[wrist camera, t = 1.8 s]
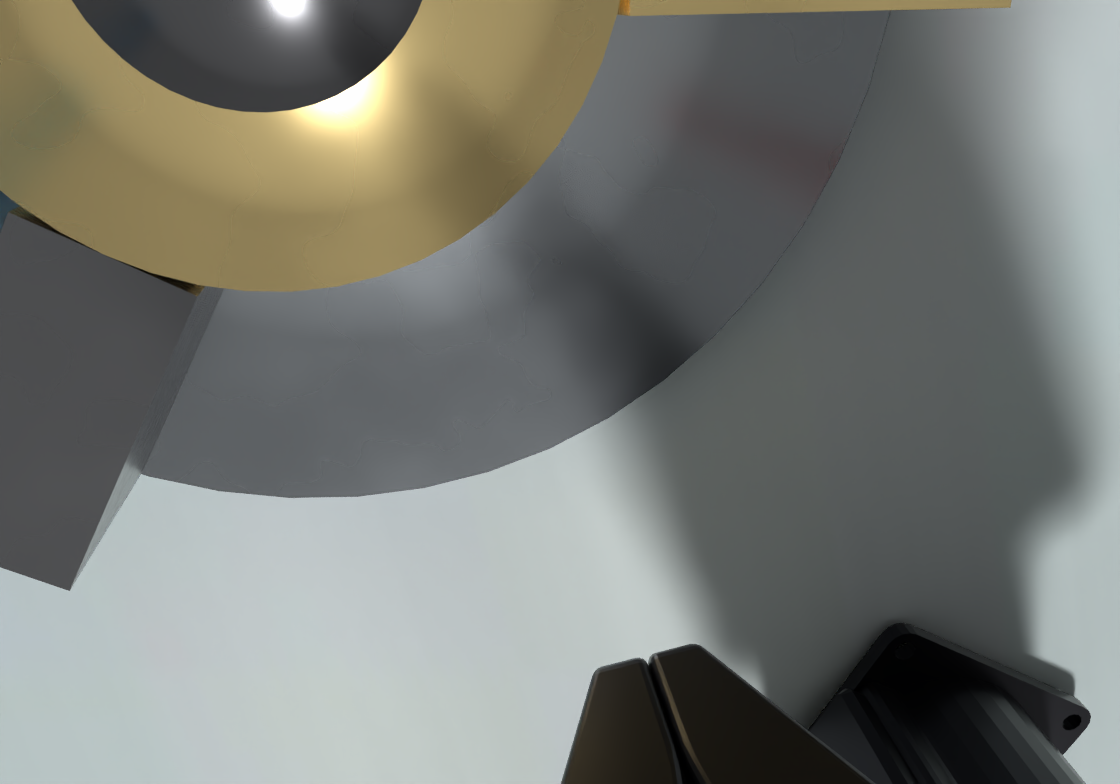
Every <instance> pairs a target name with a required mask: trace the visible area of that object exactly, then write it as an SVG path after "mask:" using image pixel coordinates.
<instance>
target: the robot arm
mask: <svg viewBox="0 0 1120 784" xmlns="http://www.w3.org/2000/svg"><path fill="white" fill-rule="evenodd" d="M904 642H907V643H906V644H905V645H904V646H903V647H902V648H898V649H896V648H897V647H898V646H899V645H900V644H901V643H904ZM648 665H649V666H648ZM1090 718H1091V716H1090V713H1089V711H1088V710H1087V709H1086V707H1085V706H1084V705H1083V704H1082V703H1081V702H1080V701H1079V700H1078V699H1077V698H1075V697H1074V696H1071V695H1069V694H1067V693H1064V692H1062V691H1060V690H1058V689H1055V688H1053V687H1051V686H1049V685H1046V684H1044V683H1042V682H1040V681H1037V680H1035V679H1033V678H1030V677H1028V676H1026V675H1024V674H1021V673H1019V672H1017V671H1015V670H1012V669H1010V668H1008V667H1005V666H1003V665H1001V664H999V663H996V662H994V661H992V660H990V659H987V658H985V657H983V656H980V655H978V654H976V653H974V652H971V651H969V650H967V649H965V648H962V647H960V646H958V645H955V644H953V643H951V642H949V641H946V640H944V639H942V638H940V637H937V636H935V635H933V634H931V633H928V632H926V631H924V630H921V629H919V628H917V627H915V626H912V625H910V624H905V623H899V624H894V625H892V626H890V627H888V628H887V629H886V630H885V631H884V632H883V633H882V634H881V635H880V636H879V638H878V639H877V640H876V641H875V643H874V644H873V645H872V647H871V648H870V649H869V651H868V652H867V653H866V655H865V656H864V657H863V659H862V660H861V661H860V663H859V664H858V665H857V666H856V668H855V669H854V670H853V672H852V673H851V674H850V676H849V677H848V678H847V680H846V681H845V682H844V684H843V685H842V686H841V687H840V689H839V690H838V691H837V693H836V694H835V695H834V697H833V698H832V699H831V701H830V702H829V703H828V705H827V706H826V707H825V709H824V710H823V711H822V712H821V714H820V715H819V716H818V718H817V719H816V720H815V722H814V723H813V724H812V726H811V727H810V728H809V730H807V729H806V728H804V727H803V726H802V725H801V724H799V723H798V722H797V721H795V720H794V719H793V718H792V717H790V716H789V715H788V714H787V713H785V712H784V711H783V710H782V709H780V708H779V707H778V706H776V705H775V704H774V703H773V702H771V701H770V700H769V699H768V698H766V697H765V696H764V695H763V694H761V693H760V692H759V691H758V690H756V689H755V688H754V687H752V686H751V685H750V684H749V683H747V682H746V681H745V680H744V679H742V678H741V677H740V676H739V675H737V674H736V673H735V672H733V671H732V670H731V669H730V668H728V667H727V666H726V665H725V664H723V663H722V662H721V661H720V660H718V659H717V658H716V657H715V656H713V655H712V654H711V653H709V652H708V651H707V650H706V649H704V648H703V647H702V646H700V645H697V644H689V645H685V646H681V647H677V648H673V649H669V650H665V651H662V652H658V653H655V654H652V656H651V657H650V658H649V661H648V664H647V662H646V661H645V660H644V659H641V658H634V659H630V660H626V661H622V662H618V663H615V664H611V665H607V666H603V667H600V668H598V669H597V670H596V671H595V672H594V674H593V676H592V679H591V682H590V686H589V689H588V693H587V696H586V699H585V703H584V706H583V710H582V713H581V717H580V720H579V723H578V727H577V730H576V734H575V737H574V741H573V744H572V747H571V751H570V754H569V758H568V761H567V765H566V768H565V771H564V775H563V778H562V782H561V784H1086V783H1085V782H1084V781H1083V780H1082V778H1081V777H1080V776H1079V775H1078V774H1077V772H1076V771H1075V770H1074V769H1073V767H1072V766H1071V765H1070V764H1069V763H1068V761H1067V760H1066V759H1065V758H1064V757H1063V754H1064V753H1065V752H1066V751H1067V750H1068V748H1069V747H1070V746H1071V745H1072V744H1073V743H1074V742H1075V740H1076V739H1077V738H1078V737H1079V736H1080V735H1081V733H1082V732H1083V731H1084V730H1085V729H1086V728H1087V726H1088V724H1089V723H1090Z"/></svg>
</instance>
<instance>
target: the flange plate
mask: <svg viewBox="0 0 1120 784" xmlns="http://www.w3.org/2000/svg"><path fill="white" fill-rule="evenodd" d="M890 11H891V10H876V11H831V12H787V13H742V14H697V15H653V16H625V15H617V16H616V20H615V23H614V26H613V29H612V32H611V35H610V39H609V42H608V45H607V48H606V51H605V55H604V58H603V61H602V63H601V65H600V68H599V70H598V72H597V74H596V76H595V79H594V81H593V83H592V85H591V87H590V90H589V92H588V94H587V96H586V98H585V101H584V103H583V105H582V107H581V108H580V110H579V112H578V113H577V115H576V117H575V118H574V120H573V121H572V123H571V125H570V126H569V128H568V130H567V131H566V133H565V134H564V136H563V138H562V139H561V141H560V143H559V144H558V146H557V147H556V148H555V150H554V151H553V152H552V153H551V154H550V156H549V157H548V158H547V159H546V161H545V162H544V163H543V164H542V166H541V167H540V168H539V169H538V171H537V172H536V173H535V174H534V176H533V177H532V178H531V179H530V180H529V182H528V183H527V184H526V185H525V186H523V187H522V188H521V189H520V190H519V191H518V192H517V193H516V194H515V195H514V196H513V197H512V198H511V199H510V200H509V201H508V202H507V203H506V204H505V205H504V206H502V207H501V208H500V209H499V210H498V211H497V212H496V213H495V214H494V215H492V216H491V217H489V218H488V219H487V220H485V221H484V222H483V223H481V224H480V225H478V226H477V227H476V228H474V229H473V230H472V231H470V232H469V233H468V234H466V235H465V236H463V237H462V238H461V239H459V240H457V241H455V242H454V243H452V244H450V245H448V246H446V247H444V248H443V249H441V250H439V251H437V252H435V253H433V254H432V255H430V256H428V257H426V258H424V259H422V260H420V261H418V262H415V263H412V264H410V265H407V266H405V267H402V268H400V269H397V270H394V271H392V272H389V273H387V274H384V275H381V276H378V277H374V278H370V279H366V280H362V281H358V282H354V283H350V284H345V285H341V286H337V287H329V288H320V289H312V290H303V291H294V292H270V291H240V290H233V289H225V288H224V290H223V292H222V295H221V297H220V299H219V301H218V304H217V306H216V308H215V310H214V313H213V315H212V317H211V320H210V322H209V324H208V326H207V329H206V331H205V333H204V335H203V338H202V340H201V342H200V344H199V347H198V349H197V351H196V353H195V356H194V358H193V360H192V362H191V365H190V367H189V369H188V372H187V374H186V376H185V378H184V381H183V383H182V385H181V387H180V390H179V392H178V394H177V396H176V399H175V401H174V403H173V405H172V408H171V410H170V412H169V414H168V417H167V419H166V421H165V423H164V426H163V428H162V430H161V433H160V435H159V437H158V439H157V442H156V444H155V446H154V448H153V451H152V453H151V455H150V457H149V460H148V462H147V464H146V466H145V468H144V470H143V471H142V473H141V474H143V475H146V476H150V477H155V478H159V479H164V480H169V481H174V482H179V483H183V484H188V485H193V486H198V487H203V488H208V489H212V490H217V491H225V492H235V493H246V494H256V495H267V496H277V497H288V498H301V497H358V496H366V495H373V494H381V493H389V492H396V491H404V490H411V489H419V488H426V487H430V486H434V485H437V484H441V483H445V482H449V481H453V480H457V479H461V478H465V477H469V476H473V475H477V474H481V473H485V472H489V471H492V470H494V469H497V468H500V467H502V466H505V465H507V464H510V463H513V462H515V461H518V460H521V459H523V458H526V457H528V456H531V455H534V454H536V453H539V452H542V451H544V450H547V449H550V448H552V447H554V446H555V445H557V444H559V443H561V442H563V441H565V440H567V439H569V438H571V437H573V436H575V435H577V434H578V433H580V432H582V431H584V430H586V429H588V428H590V427H592V426H594V425H596V424H598V423H600V422H601V421H603V420H605V419H607V418H609V417H610V416H612V415H613V414H615V413H616V412H618V411H619V410H621V409H622V408H624V407H625V406H627V405H628V404H629V403H631V402H632V401H634V400H635V399H637V398H638V397H640V396H641V395H643V394H644V393H646V392H647V391H649V390H650V389H651V388H653V387H654V386H656V385H657V384H659V383H660V382H662V381H663V380H664V379H666V378H667V377H668V376H669V375H670V374H671V373H672V372H674V371H675V370H676V369H677V368H678V367H679V366H680V365H682V364H683V363H684V362H685V361H686V360H687V359H688V358H690V357H691V356H692V355H693V354H694V353H695V352H696V351H698V350H699V349H700V348H701V347H702V346H703V345H705V344H706V343H707V342H708V341H709V340H710V339H711V338H713V337H714V336H715V335H716V334H717V333H718V331H719V330H720V329H721V328H722V327H723V326H724V325H725V324H726V323H727V322H728V320H729V319H730V318H731V317H732V316H733V315H734V314H735V313H736V312H737V310H738V309H739V308H740V307H741V306H742V305H743V304H744V303H745V302H746V301H747V299H748V298H749V297H750V296H751V295H752V294H753V293H754V292H755V291H756V289H757V288H758V287H759V286H760V285H761V284H762V283H763V281H764V280H765V278H766V277H767V276H768V274H769V273H770V271H771V270H772V268H773V267H774V266H775V264H776V263H777V261H778V260H779V259H780V257H781V256H782V254H783V253H784V252H785V250H786V249H787V247H788V246H789V245H790V243H791V242H792V240H793V239H794V238H795V236H796V235H797V233H798V232H799V231H800V229H801V228H802V226H803V225H804V223H805V221H806V219H807V218H808V216H809V214H810V212H811V210H812V208H813V207H814V205H815V203H816V201H817V199H818V198H819V196H820V194H821V192H822V190H823V188H824V187H825V185H826V183H827V181H828V179H829V178H830V176H831V174H832V172H833V170H834V169H835V167H836V165H837V163H838V161H839V159H840V157H841V154H842V152H843V149H844V147H845V145H846V142H847V140H848V137H849V135H850V132H851V130H852V127H853V125H854V123H855V120H856V118H857V115H858V113H859V110H860V108H861V106H862V103H863V101H864V98H865V96H866V93H867V91H868V88H869V85H870V81H871V78H872V74H873V71H874V67H875V64H876V60H877V57H878V53H879V50H880V46H881V43H882V39H883V36H884V32H885V29H886V25H887V21H888V18H889V14H890ZM19 206H20V205H18V204H17V203H15V202H14V201H13V200H11V199H10V198H9V197H8V196H7V195H5V194H4V193H3V192H2V191H0V233H1V230H2V227H3V225H4V222H5V219H6V216H7V214H8V212H9V211H11V210H13V209H15V208H17V207H19Z"/></svg>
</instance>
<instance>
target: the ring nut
mask: <svg viewBox="0 0 1120 784" xmlns="http://www.w3.org/2000/svg"><path fill="white" fill-rule="evenodd" d="M1010 6H1011V0H0V191H2V192H3V193H4V194H5V195H7V196H8V197H9V198H10V199H11V200H13V201H14V202H15V203H17V204H18V205H20V206H19V207H17V208H15V209H13V210H11V211H9V212H8V214H7V216H6V219H5V222H4V225H3V227H2V230H1V233H0V567H1V568H4V569H7V570H10V571H13V572H16V573H19V574H22V575H25V576H28V577H31V578H34V579H37V580H40V581H42V582H45V583H48V584H51V585H54V586H57V587H60V588H63V589H66V590H69V591H70V589H71V588H72V586H73V584H74V583H75V581H76V579H77V578H78V576H79V574H80V573H81V571H82V570H83V568H84V566H85V565H86V563H87V561H88V560H89V558H90V556H91V555H92V553H93V552H94V550H95V548H96V547H97V545H98V543H99V542H100V540H101V538H102V537H103V535H104V534H105V532H106V530H107V529H108V527H109V525H110V524H111V522H112V520H113V519H114V517H115V515H116V514H117V512H118V511H119V509H120V507H121V506H122V504H123V502H124V501H125V499H126V497H127V496H128V494H129V493H130V491H131V489H132V488H133V486H134V484H135V483H136V481H137V479H138V478H139V476H140V475H141V473H142V471H143V470H144V468H145V466H146V464H147V462H148V460H149V457H150V455H151V453H152V451H153V448H154V446H155V444H156V442H157V439H158V437H159V435H160V433H161V430H162V428H163V426H164V423H165V421H166V419H167V417H168V414H169V412H170V410H171V408H172V405H173V403H174V401H175V399H176V396H177V394H178V392H179V390H180V387H181V385H182V383H183V381H184V378H185V376H186V374H187V372H188V369H189V367H190V365H191V362H192V360H193V358H194V356H195V353H196V351H197V349H198V347H199V344H200V342H201V340H202V338H203V335H204V333H205V331H206V329H207V326H208V324H209V322H210V320H211V317H212V315H213V313H214V310H215V308H216V306H217V304H218V301H219V299H220V297H221V295H222V292H223V290H224V288H225V289H233V290H240V291H270V292H294V291H303V290H312V289H320V288H329V287H337V286H341V285H345V284H350V283H354V282H358V281H362V280H366V279H370V278H374V277H378V276H381V275H384V274H387V273H389V272H392V271H394V270H397V269H400V268H402V267H405V266H407V265H410V264H412V263H415V262H418V261H420V260H422V259H424V258H426V257H428V256H430V255H432V254H433V253H435V252H437V251H439V250H441V249H443V248H444V247H446V246H448V245H450V244H452V243H454V242H455V241H457V240H459V239H461V238H462V237H463V236H465V235H466V234H468V233H469V232H470V231H472V230H473V229H474V228H476V227H477V226H478V225H480V224H481V223H483V222H484V221H485V220H487V219H488V218H489V217H491V216H492V215H494V214H495V213H496V212H497V211H498V210H499V209H500V208H501V207H502V206H504V205H505V204H506V203H507V202H508V201H509V200H510V199H511V198H512V197H513V196H514V195H515V194H516V193H517V192H518V191H519V190H520V189H521V188H522V187H523V186H525V185H526V184H527V183H528V182H529V180H530V179H531V178H532V177H533V176H534V174H535V173H536V172H537V171H538V169H539V168H540V167H541V166H542V164H543V163H544V162H545V161H546V159H547V158H548V157H549V156H550V154H551V153H552V152H553V151H554V150H555V148H556V147H557V146H558V144H559V143H560V141H561V139H562V138H563V136H564V134H565V133H566V131H567V130H568V128H569V126H570V125H571V123H572V121H573V120H574V118H575V117H576V115H577V113H578V112H579V110H580V108H581V107H582V105H583V103H584V101H585V98H586V96H587V94H588V92H589V90H590V87H591V85H592V83H593V81H594V79H595V76H596V74H597V72H598V70H599V68H600V65H601V63H602V61H603V58H604V55H605V51H606V48H607V45H608V42H609V39H610V35H611V32H612V29H613V26H614V23H615V20H616V16H617V15H625V16H653V15H697V14H742V13H787V12H831V11H876V10H921V9H966V8H1010Z"/></svg>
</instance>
